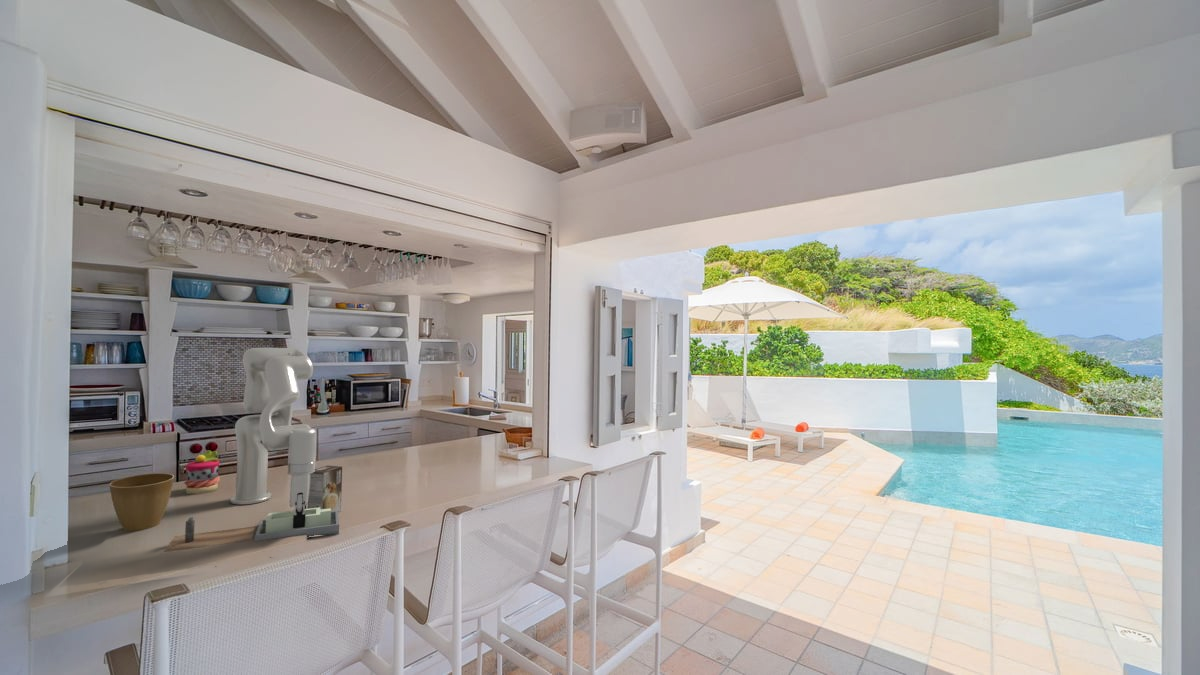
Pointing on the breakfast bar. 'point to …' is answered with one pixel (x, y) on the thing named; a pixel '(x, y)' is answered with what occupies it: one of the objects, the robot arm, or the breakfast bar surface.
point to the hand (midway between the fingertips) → (299, 522)
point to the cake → (202, 474)
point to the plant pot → (141, 499)
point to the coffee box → (326, 488)
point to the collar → (285, 519)
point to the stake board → (208, 537)
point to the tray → (310, 531)
